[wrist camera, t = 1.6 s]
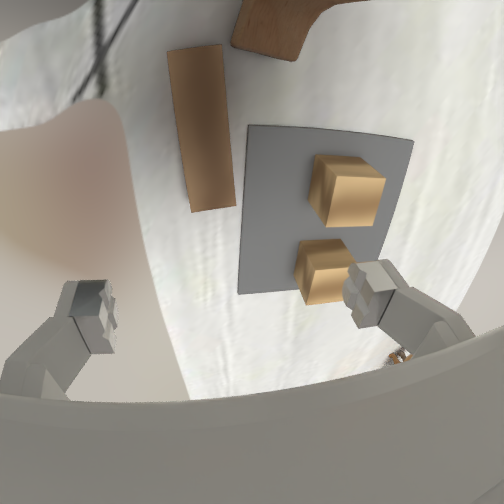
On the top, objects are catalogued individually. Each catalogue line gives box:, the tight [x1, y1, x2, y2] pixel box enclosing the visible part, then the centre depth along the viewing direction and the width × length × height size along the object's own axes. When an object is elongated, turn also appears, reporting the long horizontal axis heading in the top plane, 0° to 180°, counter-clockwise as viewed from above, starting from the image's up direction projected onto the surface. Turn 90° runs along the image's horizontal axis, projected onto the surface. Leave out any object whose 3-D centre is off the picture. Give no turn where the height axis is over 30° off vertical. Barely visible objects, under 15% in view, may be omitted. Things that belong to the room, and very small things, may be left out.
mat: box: [238, 125, 414, 295], centre depth 34 cm, size 20×18×1 cm
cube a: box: [308, 154, 386, 227], centre depth 29 cm, size 5×5×5 cm
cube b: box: [293, 239, 356, 305], centre depth 35 cm, size 5×5×5 cm
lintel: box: [167, 44, 236, 213], centre depth 25 cm, size 4×14×3 cm, turn 4°
